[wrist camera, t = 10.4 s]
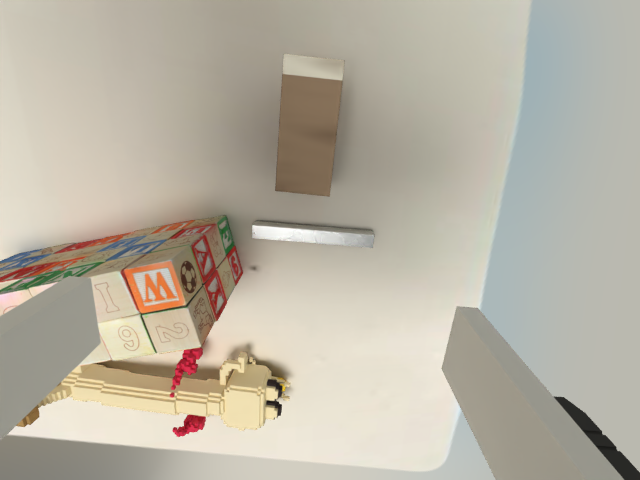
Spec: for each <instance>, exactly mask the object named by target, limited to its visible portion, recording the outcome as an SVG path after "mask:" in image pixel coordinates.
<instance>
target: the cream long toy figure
mask: <svg viewBox="0 0 640 480" xmlns="http://www.w3.org/2000/svg"><path fill="white" fill-rule="evenodd" d="M202 354H203V349H201V348H194V349H188V350H184V353H183V359H181V360H180V361H179V363H178V364H177V368H176V369H175V376H174V378H166V377H158V376H151V375H143V374H135V373H130V371H127V370H121V369H113V368H106V367H105V366H103V365H99V364H89V365H83V366H78V367H76V368H75V369H74V370H73V371H72V372H71V373H70V374H69V375H68V376H67V377H66V378H64V379H63V380H62V381H61V382H60V383H59V384H58V385H57V386H56V387H55V388H54V389H53V390H52V391H51V392H50V393H49V394H48V395H47V396H46V397H45V398H44V399H43V400H42V401H41V402H40V403H39V404H38V405H37V406H36V407H35V408H34V409H33V410H32V411H31V412H29V413H28V414H27V415H26V416H25V417H24V418H23V419H22V420H21V421H20V422H19V423H18V424H17V425H16V426H21V427H25V426H26V425H27V424H29V425H31V424H32V423H33V422H34V421H35V420H36V419H37V418H39V410H38V408H39V407H41V406H42V405H43V406H45V405H46V404H47V403H49V404H51V403H52V402H53V401H54V402H56V401H57V400H62V399H65V398H67V397H73V400H78V401H85V402H87V401H95V402H101V404H102V405H105V406H112V407H120V408H127V409H134V410H142V411H149V412H156V413H164V414H171V415H179V413H183V414H189V415H187V417H186V419H185V421H184V426H183V427H179V428H178V430H177V428H176V427H174V428H173V432H175V434H176V435H177V436H178V437H180V436H185V434H189V432H197V431H198V430H199V429H200V430H202V429H203V427H204V425H205V421H206V416H207V417H208V416H210V415H217V416H221V419H223V420H224V424H227V427H233V428H239V430H241V431H244V430H245V429H253V430H257V428H261V426H264V423H265V420H266V419H272V420H274V419H275V418H277V417H278V416H280V415H281V410H282V404H279V402H277V401H276V399H278V398H283V400H286V401H289V396H284V395H285V394H283V393H282V391H285V388H286V387H290V383H288V382H286V381H285V380H283V378H278V377H273V376H271V373H272V371H269V369H268V368H267V366H263V365H256V360H253V358H252V357H250V359H249V362H252V364H247V361H248V355H247V352H241V353H240V355H239V357H238V360H232V359H227V361H224V363H223V365H222V366H221V368H220V380H216V379H207V380H199V379H191V378H183V377H182V375H183V372H188V375H191V374H192V373H196V371H197V370H196V369H197V367H198V364H196V359H198V360H199V359H200V357H201V356H202ZM232 369H234V371H233V373H232V375H231V377H230V379H229V381H228V376H229V374H230V372H231V371H232Z"/></svg>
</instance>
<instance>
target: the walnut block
mask: <svg viewBox="0 0 640 480" xmlns="http://www.w3.org/2000/svg"><path fill="white" fill-rule="evenodd" d="M344 63H345V60H336V59H327V58H318V57H309V56H300V55H292V54H284V56H283V73H282V89H281V106H280V122H279V138H278V155H277V171H276V187H275V191H281V192H291V193H301V194H310V195H320V196H330V188H331V179H332V170H333V161H334V152H335V143H336V134H337V125H338V116H339V108H340V99H341V90H342V81H343V72H344Z"/></svg>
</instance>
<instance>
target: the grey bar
mask: <svg viewBox="0 0 640 480" xmlns="http://www.w3.org/2000/svg"><path fill="white" fill-rule="evenodd" d="M252 238H258V239H270V240H282V241H295V242H307V243H319V244H331V245H343V246H356V247H368V248H373V242H374V233H373V231H372V230H362V229H350V228H337V227H325V226H313V225H301V224H289V223H277V222H265V221H255V222H254V224H253V225H252Z"/></svg>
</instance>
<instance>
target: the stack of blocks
mask: <svg viewBox="0 0 640 480" xmlns="http://www.w3.org/2000/svg"><path fill="white" fill-rule="evenodd" d="M242 274H243V272H242V268H241V265H240V261H239V258H238V254H237V251H236V247H235V245H234V242H233V239H232V235H231V231H230V228H229V224H228V221H227V217H226V215H224V216H218V217H213V218H207V219H201V220H191V221H186V222H180V223H175V224H169V225H165V226H158V227H152V228H147V229H142V230H137V231H134V232H132V233H127V234H122V235H116V236H111V237H106V238H104V239H98V240H93V241H88V242H83V243H78V244H75V243H70V244H65V245H59V246H54V247H49V248H45V249H40V250H35V251H30V252H25V253H20V254H17V255H14V256H12V257H9V258H7V259H4V260H2V261H0V316H1V315H3V314H5V313H7V312H8V311H10V310H12V309H13V308H15V307H17V306H18V305H20V304H22V303H24V302H25V301H27V300H29V299H30V298H32V297H34V296H36V295H37V294H39V293H41V292H42V291H44V290H46V289H48V288H49V287H51V286H53V285H54V284H56V283H58V282H60V281H61V280H63V279H65V278H66V277H68V276H76V277H89V278H91V282H92V289H93V295H94V302H95V309H96V315H97V322H98V328H99V335H100V341H101V344H100V345H98V346H97V347H96V348H95V349H94V350H93V351H92V352H91V353H90V354H89V355H88V356H87V357H86V358H85V359H84V360H83V361H82V362H81V363H80V364H79V365H78V366H83V365H89V364H93V363H100V362H105V361H109V360H114V361H116V360H122V359H128V358H134V357H140V356H146V355H152V354H155V353H159V354H162V353H169V352H175V351H181V350H188V349H194V348H199V347H201V346H202V344H203V343H204V341H205V339H206V337H207V336H208V334H209V332H210V330H211V328H212V326H213V324H214V322H216V321H217V320H218V319H219V317H220V315H221V313H222V312H223V309H224V308H225V306H226V304H227V301H228V299H229V297H230V295H231V293H232V291H233V290H234V288H235V286H236V285H237V283H238V281H239V279H240V278H241V276H242ZM78 366H77V367H78Z"/></svg>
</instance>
